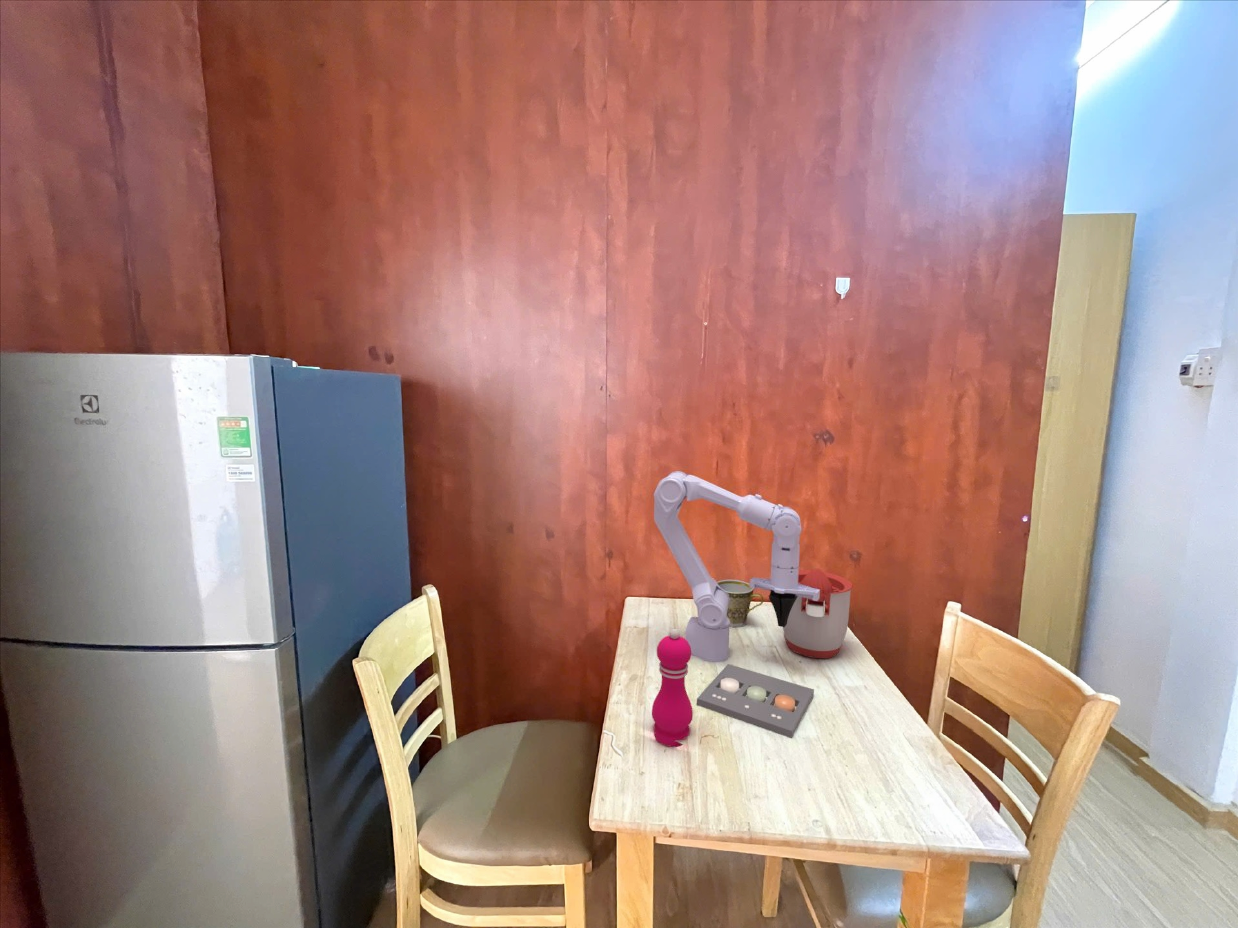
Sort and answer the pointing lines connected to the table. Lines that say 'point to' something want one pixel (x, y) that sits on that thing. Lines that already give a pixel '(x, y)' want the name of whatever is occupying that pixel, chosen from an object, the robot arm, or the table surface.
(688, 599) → the table surface
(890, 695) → the table surface
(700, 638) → the robot arm
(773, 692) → the button panel
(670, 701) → the pepper mill
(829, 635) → the citrus juicer
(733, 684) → the button white
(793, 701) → the button terracotta
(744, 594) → the ceramic cup
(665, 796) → the table surface
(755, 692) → the button green
